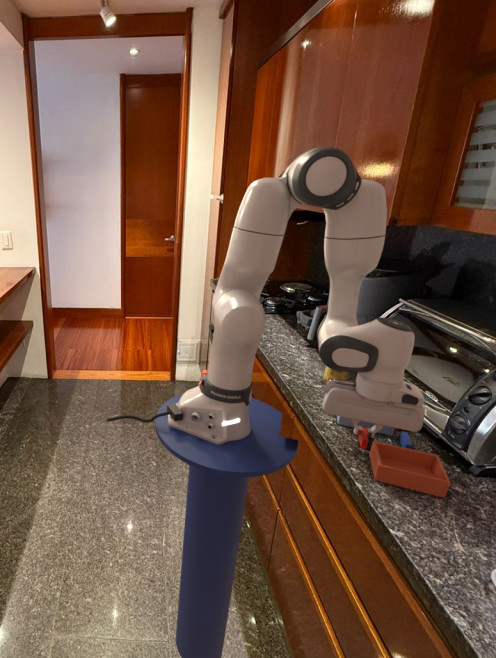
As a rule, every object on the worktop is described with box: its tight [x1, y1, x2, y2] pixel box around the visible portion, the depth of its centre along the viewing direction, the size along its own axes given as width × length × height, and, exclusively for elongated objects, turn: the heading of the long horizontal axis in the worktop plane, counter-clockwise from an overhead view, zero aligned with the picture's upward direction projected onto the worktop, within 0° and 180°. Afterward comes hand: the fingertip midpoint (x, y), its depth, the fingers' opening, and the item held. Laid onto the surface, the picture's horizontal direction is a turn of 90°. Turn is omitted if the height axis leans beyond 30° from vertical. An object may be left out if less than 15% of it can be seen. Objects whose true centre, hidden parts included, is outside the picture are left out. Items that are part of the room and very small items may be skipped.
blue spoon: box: [399, 430, 414, 450], centre depth 93 cm, size 8×3×2 cm, turn 154°
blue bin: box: [336, 415, 396, 437], centre depth 104 cm, size 12×9×4 cm
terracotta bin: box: [368, 440, 451, 499], centre depth 84 cm, size 12×9×4 cm
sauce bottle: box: [322, 365, 349, 386], centre depth 119 cm, size 7×6×20 cm
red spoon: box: [354, 427, 369, 450], centre depth 96 cm, size 8×3×2 cm, turn 154°
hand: (363, 434), depth 96 cm, fingers closed on red spoon, 1 cm apart
